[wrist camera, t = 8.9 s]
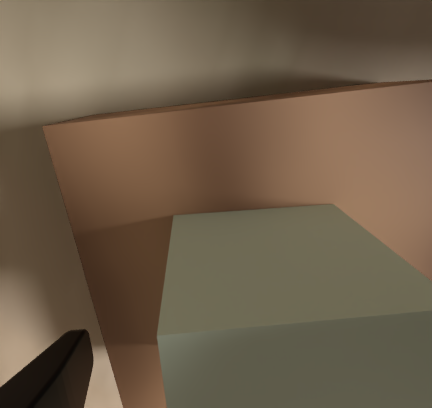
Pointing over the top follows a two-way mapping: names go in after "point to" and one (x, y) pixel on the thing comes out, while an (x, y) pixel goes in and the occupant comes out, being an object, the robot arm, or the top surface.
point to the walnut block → (233, 189)
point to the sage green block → (291, 314)
